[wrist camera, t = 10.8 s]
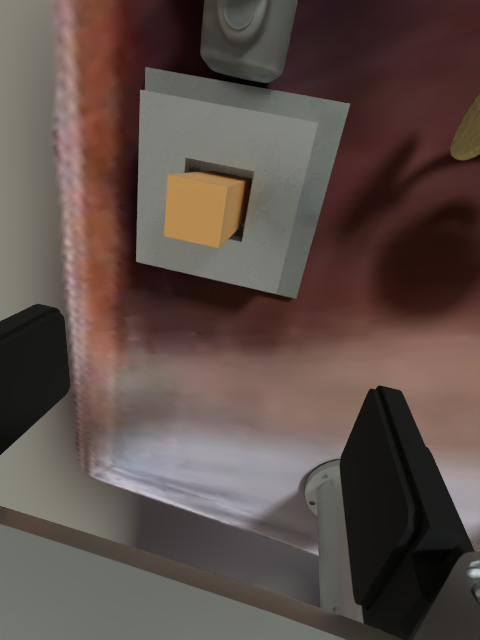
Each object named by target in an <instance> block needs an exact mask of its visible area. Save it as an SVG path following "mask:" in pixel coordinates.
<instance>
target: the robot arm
mask: <svg viewBox="0 0 480 640" xmlns="http://www.w3.org/2000/svg"><path fill="white" fill-rule="evenodd" d="M69 388H70V377H69V367H68V354H67V343H66V332H65V320H64V316H63V315H62V314H61V313H60V311H59V310H58V309H57V308H54V307H50V306H46V305H41V304H36V305H33V306H31V307H29V308H27V309H25V310H23V311H21V312H19V313H17V314H14V315H12V316H10V317H8V318H6V319H4V320H2V321H0V455H1V454H2V453H3V452H4V451H5V450H6V449H8V448H9V446H11V445H12V444H13V443H14V442H15V441H16V440H17V439H18V438H19V437H20V436H22V435H23V434H24V433H25V432H26V431H27V430H28V429H29V428H30V427H31V426H32V425H34V424H35V423H36V422H37V421H38V420H39V419H40V418H41V417H42V416H43V415H45V414H46V413H47V412H48V411H49V410H50V409H51V408H52V407H53V406H54V405H55V404H56V403H58V402H59V401H60V400H61V399H62V398H63V397H64V396H65V395H66V394H67V392H68V390H69ZM305 500H306V503H307V505H308V507H309V509H310V510H311V511H312V513H313V514H315V515H316V516H317V517H318V545H319V547H318V551H319V573H320V601H321V608H318V607H315V606H312V605H309V604H306V603H303V602H300V601H297V600H294V599H291V598H288V597H285V596H283V595H279V594H277V593H273V592H271V591H268V590H265V589H262V588H258V587H255V586H252V585H249V584H246V583H243V582H240V581H237V580H233V579H230V578H227V577H224V576H221V575H218V574H215V573H211V572H208V571H205V570H202V569H199V568H196V567H193V566H189V565H187V564H183V563H180V562H177V561H174V560H171V559H168V558H164V557H161V556H158V555H155V554H152V553H149V552H146V551H142V550H139V549H136V548H133V547H130V546H127V545H124V544H120V543H117V542H114V541H111V540H107V539H104V538H101V537H98V536H95V535H92V534H88V533H85V532H82V531H79V530H76V529H72V528H69V527H66V526H63V525H60V524H57V523H53V522H50V521H47V520H44V519H40V518H37V517H34V516H31V515H28V514H24V513H21V512H18V511H15V510H12V509H8V508H5V507H2V506H0V640H480V552H476V551H474V549H473V546H472V544H471V542H470V540H469V537H468V535H467V533H466V531H465V528H464V526H463V524H462V521H461V519H460V517H459V515H458V512H457V510H456V508H455V506H454V503H453V501H452V499H451V497H450V494H449V492H448V490H447V487H446V485H445V483H444V481H443V478H442V476H441V474H440V472H439V469H438V467H437V465H436V463H435V460H434V458H433V456H432V454H431V452H430V450H429V449H428V448H427V447H426V446H425V444H424V442H423V439H422V437H421V435H420V432H419V430H418V428H417V425H416V423H415V421H414V418H413V416H412V414H411V411H410V409H409V407H408V405H407V402H406V400H405V398H404V395H403V393H402V392H401V391H400V390H397V389H392V388H388V387H384V386H378V387H377V388H376V389H370V390H369V391H368V393H367V395H366V398H365V400H364V403H363V405H362V407H361V410H360V412H359V415H358V417H357V419H356V422H355V424H354V427H353V429H352V431H351V434H350V436H349V438H348V441H347V443H346V446H345V448H344V450H343V453H342V455H341V459H340V460H336V461H332V462H329V463H326V464H324V465H322V466H320V467H318V468H317V469H315V470H314V471H313V472H312V473H311V474H310V475H309V477H308V479H307V480H306V484H305Z"/></svg>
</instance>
